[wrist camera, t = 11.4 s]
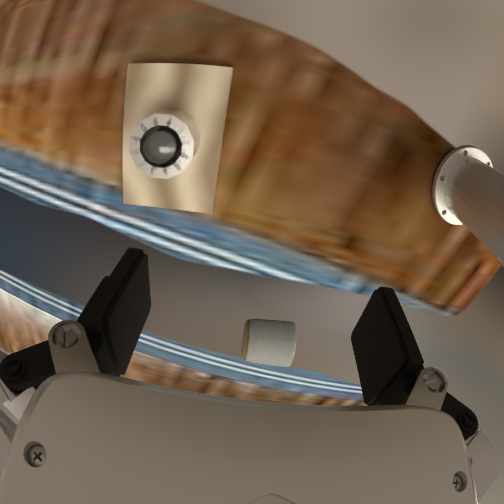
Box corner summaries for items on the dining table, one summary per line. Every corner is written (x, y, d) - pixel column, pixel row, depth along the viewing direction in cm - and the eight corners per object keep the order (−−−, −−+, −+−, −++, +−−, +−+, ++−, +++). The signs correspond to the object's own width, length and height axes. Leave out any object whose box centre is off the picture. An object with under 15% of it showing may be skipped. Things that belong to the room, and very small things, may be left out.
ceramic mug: (245, 308, 48) (243, 346, 41) (295, 312, 48) (299, 349, 42) (240, 347, 54) (238, 382, 47) (283, 350, 54) (286, 384, 48)
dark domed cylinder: (185, 125, 31) (175, 133, 27) (182, 153, 33) (173, 165, 29) (157, 123, 30) (143, 131, 27) (155, 151, 32) (142, 162, 28)
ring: (203, 112, 30) (196, 116, 26) (197, 170, 34) (190, 181, 30) (143, 108, 29) (130, 113, 26) (141, 164, 33) (129, 175, 30)
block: (233, 67, 28) (232, 67, 27) (214, 208, 38) (212, 214, 37) (132, 63, 27) (127, 63, 26) (127, 198, 37) (123, 203, 36)
